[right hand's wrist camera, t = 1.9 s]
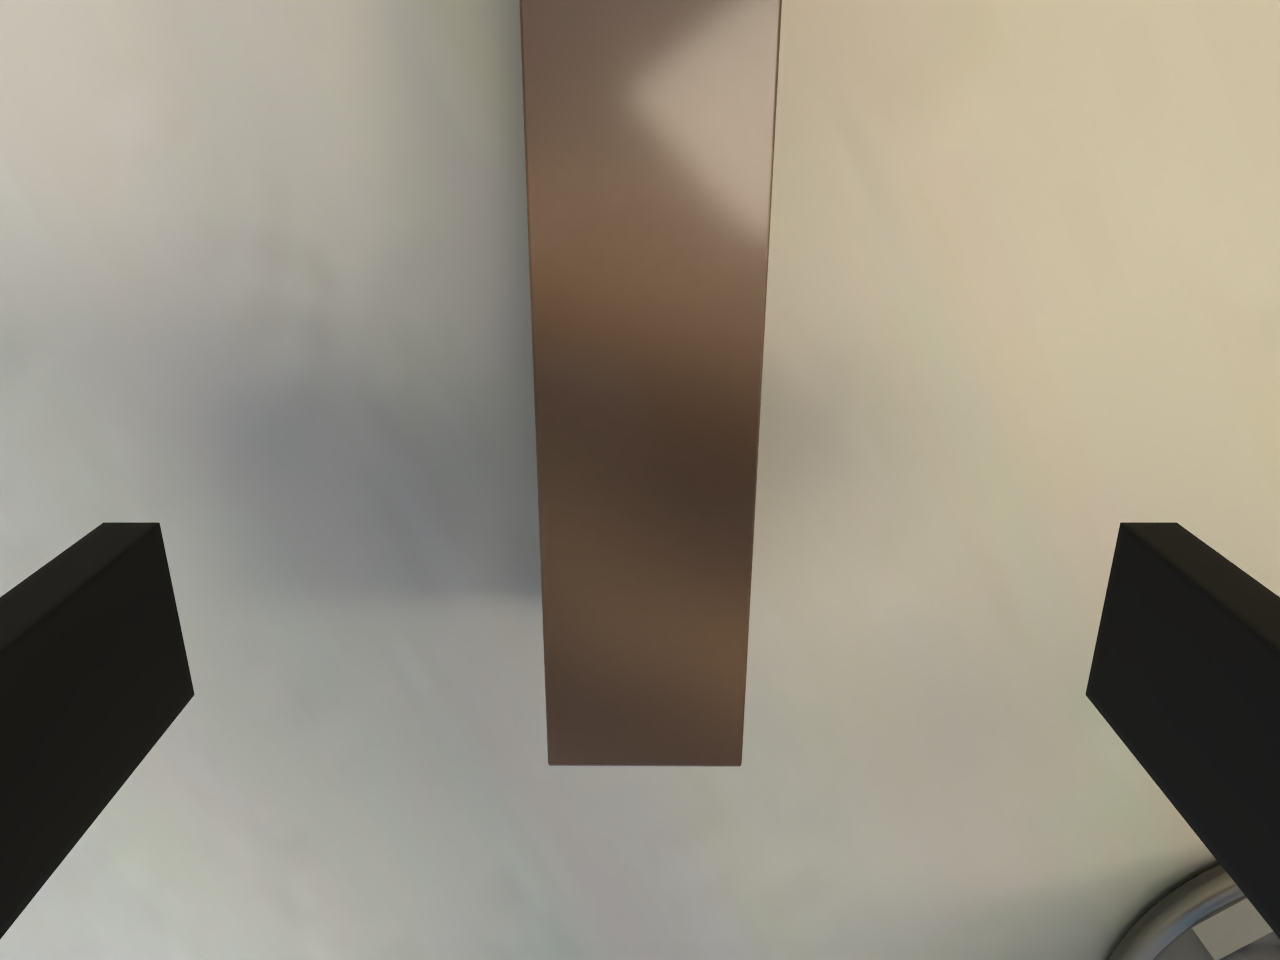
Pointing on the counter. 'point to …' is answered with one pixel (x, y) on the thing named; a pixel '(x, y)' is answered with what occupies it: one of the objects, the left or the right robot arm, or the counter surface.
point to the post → (647, 363)
